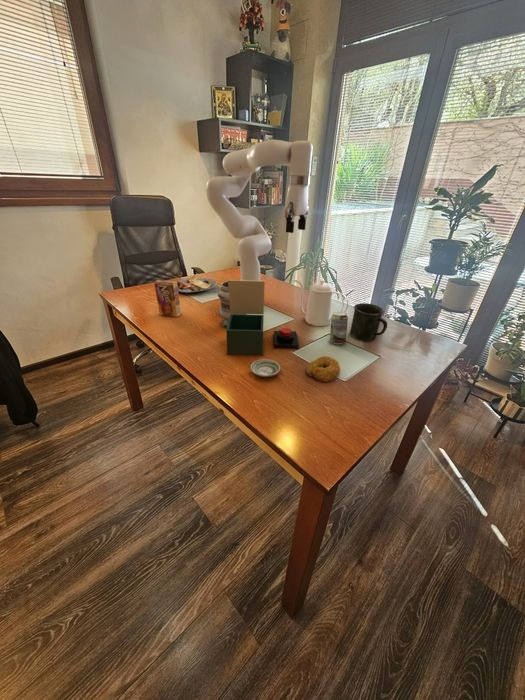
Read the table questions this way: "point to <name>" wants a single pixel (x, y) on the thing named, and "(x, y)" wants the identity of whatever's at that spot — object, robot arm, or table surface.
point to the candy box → (167, 298)
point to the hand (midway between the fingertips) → (295, 231)
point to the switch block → (285, 340)
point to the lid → (246, 296)
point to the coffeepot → (319, 303)
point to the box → (245, 334)
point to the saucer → (265, 368)
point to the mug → (367, 322)
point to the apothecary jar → (224, 303)
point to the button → (286, 332)
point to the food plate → (195, 284)
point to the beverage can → (338, 327)
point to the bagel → (324, 368)
